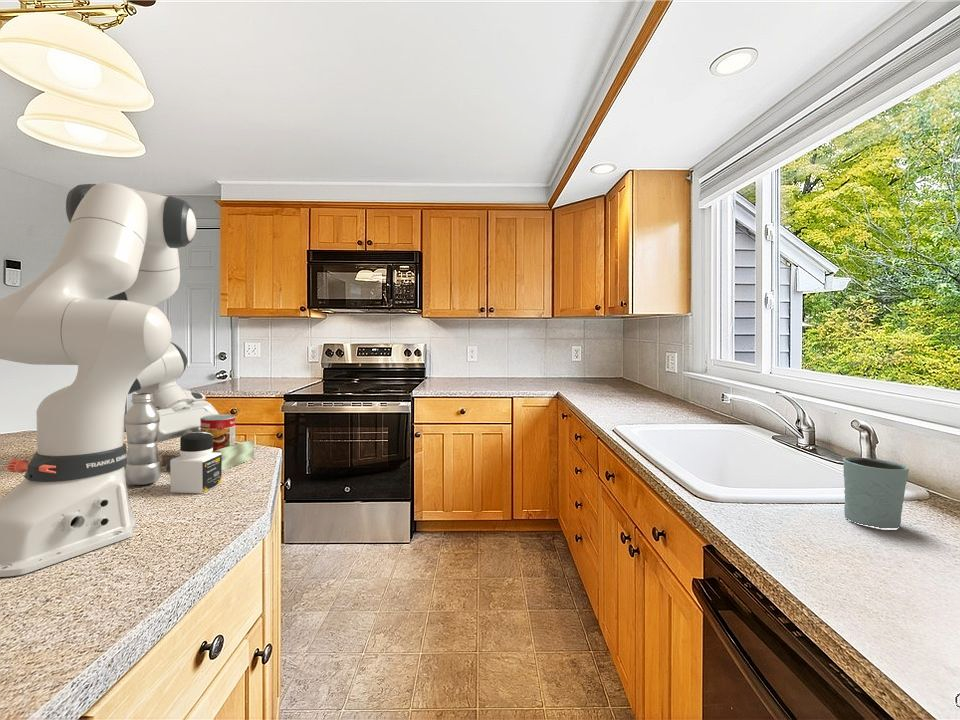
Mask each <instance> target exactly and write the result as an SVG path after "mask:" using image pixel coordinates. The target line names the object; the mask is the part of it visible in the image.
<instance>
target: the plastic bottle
mask: <svg viewBox="0 0 960 720" xmlns="http://www.w3.org/2000/svg"><path fill="white" fill-rule="evenodd" d="M131 394H132V395H131V404H132V405H131V407H130V408H128V410H127V411H126V413H124V427H125V432H126V433H125V434H126V441H127V464H126V465H125V480H126V483H127V484H129V485H132V486H143V485H148V484H154V483H156V482H158V481H159V479H160V478H161V473H162V466H161V465H162V464H161V463H160V457H159V450H158V446H159V445H158V443H159V442H157V440H158V430H159V423H160V422H159V421H160V415H159V412H158V411H157V410H156V409H155V407H154V406H153V405H152V403H151V402H153V394H152V393H136V392H133V393H131Z"/></svg>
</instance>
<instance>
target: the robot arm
mask: <svg viewBox="0 0 960 720" xmlns="http://www.w3.org/2000/svg"><path fill="white" fill-rule="evenodd" d="M65 212H66V217H67V220H68V222H69V226H68V228H67V230H66V234H65V236H64V239H63V240H62V243H61V246H60V248H59V251H58V253H57V255H56V257H55V259H54V261H53V262H52V263H51V264H50V266H48V268H47V269H46V270H45V271H44V272H42V274H41V275H40V276H38V277H37V278H35V279H34V280H33V281H31V282H30V283H29V284H28V285H26V286H24V287H23V288H21V289H20V290H17V291H16V292H14V293H12V294H9V295H7V296H4V297H2V298H0V360H3V361H8V362H14V363H19V364H20V363H21V364H25V365H26V364H27V365H39V366H40V365H42V366H43V365H44V366H46V365H47V366H48V365H50V366H51V365H54V366H57V365H58V366H77V373H76V376H75V378H74V381H73V382H72V383H71V384H70V385H67V386H65V387H62V388H61V389H58V390H56V391H54V392H52V393H50V394H49V395H47V396H46V397H44V399H42V401H41V402H40V403H39V405H38V406H37V409H36V411H35V412H36V446H37V447H36V449H37V450H36V451H35V452H34V454H33V455H32V457H31V459H30V462H29V461H28V460H26V459H20V458H12V459H10V460H9V461H8V463H6V466H5V468H6V471H8V472H9V473H18V474H22V473H24V475H23V477H24V479H23V480H22V481H21V482H20V483H19V484H17V485H16V486H15V487H13V489H12V490H10V491H9V492H8V493H7V494H5V495H4V496H3V497H2V498H1V499H0V578H3V577H15V576H22V575H25V574H28V573H31V572H34V571H37V570H39V569H43V568H46V567H49V566H52V565H55V564H57V563H61V562H63V561H66V560H69V559H71V558H74V557H77V556H80V555H82V554H83V555H84V554H86V553H89V552H92V551H94V550H97V549H101V548H103V547H106V546H109V545H112V544H114V543H115V544H116V543H118V542H120V541H124V540H126V539H129V538H131V537H132V536H134V531H133V528H134V527H135V525H136V523H137V521H136V517H135V515H134V513H133V510H132V507H131V502H130V500H129V494H128V488H127V481H126V478H125V468H126V464H127V454H128V449H127V444H126V443H125V442H124V427H125V423H124V417H125V410H126V409H125V408H126V404H127V403H126V402H127V398H128V395H130V394H134V393H152V394H153V402H151V403H152V405H153V406H154V407H155V409H156V410H157V411H158V412H159V415H160V421H159V422H160V423H159V430H158V440H157V442H158V443H161V442H164V441H165V442H166V441H170V440H174V439H177V438H178V439H179V438H181V437H182V436H183V435H185V434H188V433H194V432H200V418H201V417H202V416H206V415H215V414H220V413H219V412H218V410H217V409H216V407H215V406H213V405H212V403H210V402H208V401H207V400H206V396H205V394H204V393H202V392H196V391H190V390H187V389H183V388H182V387H181V386H180V385H179V384H178V383H177V380H178V379H180V378H181V376H183V374H184V372H185V371H186V368H187V366H188V358H187V355H186V353H185V352H184V351H183V350H182V348H181V347H180V346H179V345H178V344H176V343H174V342H171V341H172V338H173V333H172V331H173V330H172V326H171V324H170V321H169V319H168V317H167V315H165V313H164V312H163V311H162V310H161V309H159V307H157V306H159V304H161V303H163V302H166V301H167V300H169V299H170V298H171V297H172V296H173V295H174V294H175V293H176V292H177V290H178V289H179V286H180V283H181V268H180V266H181V265H180V256H179V248H183V247H186V246H188V245H189V244H191V243H192V242H193V239H194V236H195V234H196V231H197V220H196V216H195V213H194V211H193V207H192V206H191V205H190V204H189V202H188V201H186V200H183V199H181V198H179V197H176V196H172V195H169V196H166V195H162V194H158V193H153V192H150V191H145V190H140V189H139V190H138V189H135V188H131V187H128V186H126V185H122V184H120V183H117V182H116V183H115V182H101V183H97V184H95V183H83V184H78V185H76V186H74V187H73V188H72V189H70V190H69V191H68V193H67V196H66V200H65Z"/></svg>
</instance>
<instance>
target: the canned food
mask: <svg viewBox="0 0 960 720" xmlns="http://www.w3.org/2000/svg"><path fill="white" fill-rule="evenodd" d="M200 432H207V433H210V434H212V435H213V451H212V452H215V450H218V449H222V448H225V447H228V446H232V445H235V443H236V415H235V414H226V413H219V414H215V415H206V416H202V417H201V418H200Z"/></svg>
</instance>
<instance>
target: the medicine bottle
mask: <svg viewBox="0 0 960 720" xmlns="http://www.w3.org/2000/svg"><path fill="white" fill-rule="evenodd" d="M179 441H180V446H179V448H180V449H179V450H180V451H179V452H180V453H179V455H181V456H179V457H176V458H174V459H171V460H170V471H169V476H170V477H169V478H170V479H169V481H170V485H169V487H170V493H173V494H201V495H202V494H203V495H204V494H206V493H207V492H209V491H211V490H213V489H215V488H216V487H218V486H220V485H221V484H222V483H223V481H222V478H223V477H222V473H223V471H222V454H221V453H215V452H212V451H213V435H212V434H210V433H207V432H194V433H188V434H185V435H183V436H182V437H179Z"/></svg>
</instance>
